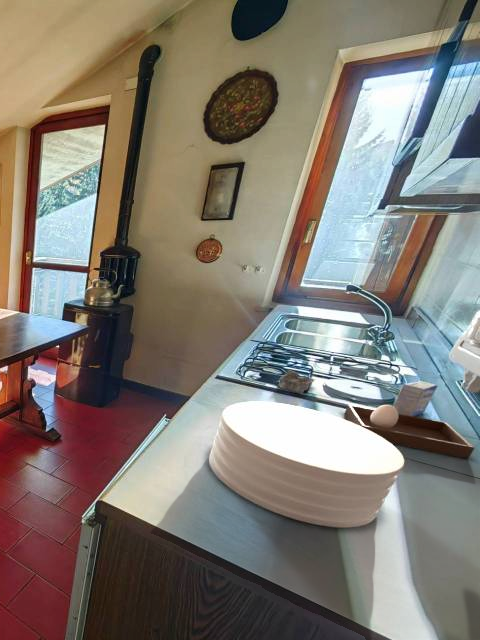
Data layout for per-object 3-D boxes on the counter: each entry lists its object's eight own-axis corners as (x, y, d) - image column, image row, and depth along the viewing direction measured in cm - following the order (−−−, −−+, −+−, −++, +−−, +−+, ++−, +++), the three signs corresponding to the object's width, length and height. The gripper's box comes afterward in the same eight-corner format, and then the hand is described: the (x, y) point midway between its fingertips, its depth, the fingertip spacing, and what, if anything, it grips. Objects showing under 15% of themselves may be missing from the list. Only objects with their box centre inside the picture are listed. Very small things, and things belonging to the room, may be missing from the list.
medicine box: (410, 418, 108) (425, 389, 104) (389, 411, 112) (403, 383, 108) (424, 413, 111) (438, 385, 107) (403, 406, 115) (416, 379, 111)
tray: (441, 432, 101) (446, 422, 100) (468, 458, 90) (475, 447, 88) (344, 414, 110) (348, 404, 109) (357, 436, 99) (362, 425, 98)
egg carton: (287, 379, 133) (291, 368, 132) (314, 387, 127) (319, 375, 126) (273, 386, 128) (277, 374, 126) (301, 394, 122) (305, 382, 120)
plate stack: (180, 457, 89) (192, 413, 85) (261, 435, 99) (276, 394, 94) (320, 545, 65) (346, 490, 61) (409, 504, 75) (438, 454, 70)
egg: (375, 422, 104) (386, 400, 101) (397, 431, 100) (408, 408, 97) (361, 424, 103) (371, 402, 101) (382, 433, 99) (393, 410, 96)
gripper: (454, 321, 96) (429, 374, 101) (504, 342, 79) (471, 403, 85) (492, 324, 93) (465, 378, 98) (552, 346, 76) (515, 409, 82)
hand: (468, 390), depth 91 cm, fingers closed
